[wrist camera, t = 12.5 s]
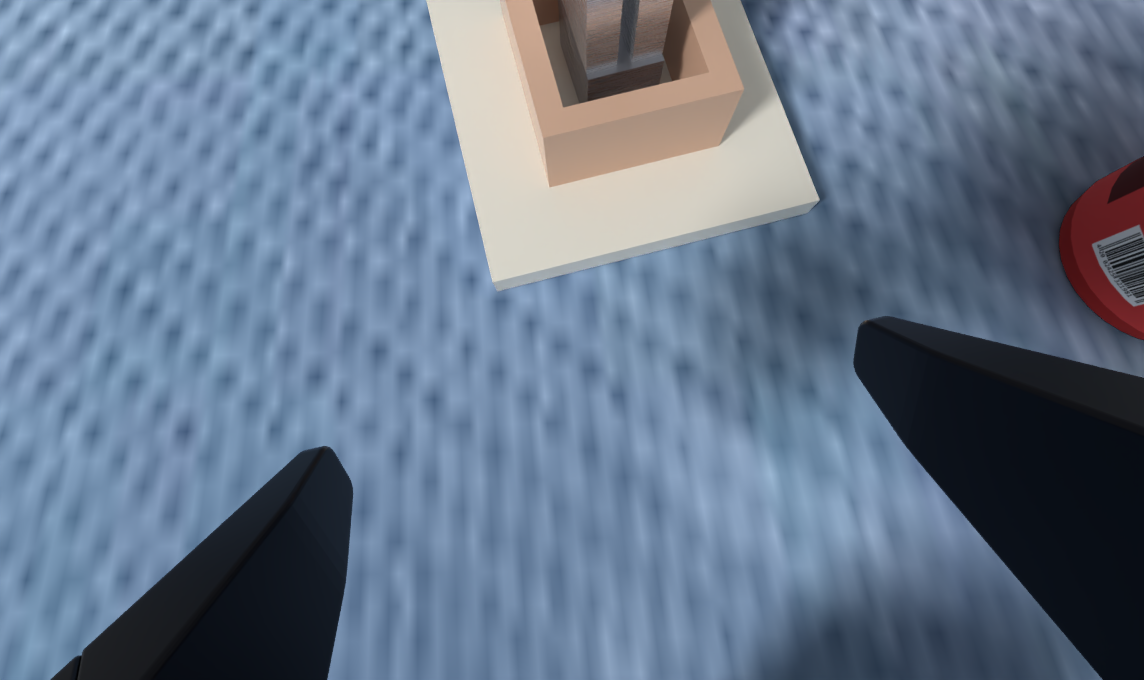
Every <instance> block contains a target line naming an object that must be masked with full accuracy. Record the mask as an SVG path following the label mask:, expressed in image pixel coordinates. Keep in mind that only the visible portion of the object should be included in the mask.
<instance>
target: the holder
mask: <svg viewBox="0 0 1144 680" xmlns="http://www.w3.org/2000/svg"><path fill="white" fill-rule="evenodd" d="M426 1H427V5H428V9H429V14H430V18H431V22H432V26H433V31H434V35H435V39H436V43H437V48H438V52H439V56H440V60H441V65H442V69H443V73H444V77H445V82H446V86H447V90H448V94H449V99H450V103H451V107H452V111H453V116H454V120H455V124H456V128H457V133H458V137H459V141H460V145H461V150H462V154H463V158H464V162H465V167H466V171H467V175H468V179H469V184H470V188H471V192H472V196H473V201H474V205H475V209H476V213H477V218H478V222H479V226H480V230H481V235H482V239H483V243H484V247H485V252H486V256H487V260H488V264H489V269H490V273H491V277H492V281H493V284H494V286H495V287H496V289H497V291H501V290H505V289H509V288H513V287H517V286H521V285H525V284H529V283H533V282H537V281H541V280H545V279H549V278H553V277H557V276H561V275H565V274H569V273H572V272H576V271H580V270H584V269H588V268H592V267H596V266H600V265H604V264H608V263H612V262H616V261H620V260H624V259H628V258H632V257H636V256H640V255H644V254H648V253H652V252H656V251H660V250H664V249H668V248H672V247H676V246H680V245H683V244H687V243H691V242H695V241H699V240H703V239H707V238H711V237H715V236H719V235H723V234H727V233H731V232H735V231H739V230H743V229H747V228H751V227H755V226H759V225H763V224H767V223H771V222H775V221H779V220H783V219H787V218H791V217H795V216H798V215H802V214H806V213H808V212H809V211H810V210H811V209H812V208H813V207H814V206H815V205H816V204H817V203H818V201H819V200H820V199H819V197H818V194H817V192H816V189H815V187H814V184H813V182H812V179H811V177H810V174H809V172H808V169H807V167H806V164H805V162H804V159H803V157H802V154H801V152H800V149H799V147H798V144H797V142H796V139H795V137H794V134H793V132H792V129H791V126H790V124H789V121H788V119H787V116H786V114H785V111H784V109H783V106H782V104H781V101H780V99H779V96H778V94H777V91H776V89H775V86H774V84H773V81H772V79H771V76H770V74H769V71H768V69H767V66H766V64H765V61H764V59H763V56H762V53H761V51H760V48H759V46H758V43H757V41H756V38H755V36H754V33H753V31H752V28H751V26H750V23H749V21H748V18H747V16H746V13H745V11H744V8H743V6H742V3H741V1H740V0H673V5H672V10H671V14H670V19H669V24H668V29H667V34H666V39H665V44H664V49H663V54H662V56H663V58H664V64H663V69H662V74H661V79H660V84H659V85H655V86H651V87H646V88H642V89H638V90H634V91H630V92H626V93H622V94H617V95H613V96H609V97H605V98H601V99H597V100H593V101H588V102H584V103H580V104H579V101H578V98H577V95H576V92H575V88H574V85H573V82H572V79H571V76H570V73H569V70H568V66H567V63H566V60H565V57H564V54H563V51H562V48H561V44H560V26H559V8H558V0H426Z"/></svg>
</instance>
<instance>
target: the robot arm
mask: <svg viewBox="0 0 1144 680" xmlns="http://www.w3.org/2000/svg"><path fill="white" fill-rule="evenodd" d="M853 363H854V369H855V372H856V374H857V376H858V377H859V379H860V380H861V382H862V383H863V385H864V386H865V388H866V389H867V391H868V392H869V394H870V395H871V397H872V398H873V400H874V401H875V402H876V404H877V405H878V407H879V408H880V410H881V411H882V413H883V414H884V416H885V417H886V419H887V420H888V422H889V423H890V424H891V426H892V427H893V429H894V430H895V432H896V433H897V435H898V436H899V437H900V439H901V440H902V442H903V443H904V444H905V446H906V447H907V448H908V450H909V451H910V452H911V453H912V455H913V456H914V457H915V458H916V459H917V461H918V462H919V463H920V464H921V465H922V467H923V468H924V469H925V470H926V471H927V472H928V474H929V475H930V476H931V477H932V478H933V480H934V481H935V482H936V483H937V484H938V485H939V487H940V488H941V489H942V490H943V491H944V493H945V494H946V495H947V496H948V497H949V498H950V500H951V501H952V502H953V503H954V504H955V506H956V507H957V508H958V509H959V510H960V511H961V513H962V514H963V515H964V516H965V517H966V519H967V520H968V521H969V522H970V523H971V524H972V526H973V527H974V528H975V529H976V530H977V532H978V533H979V534H980V535H981V536H982V537H983V539H984V540H985V541H986V542H987V543H988V545H989V546H990V547H991V548H992V549H993V550H994V552H995V553H996V554H997V555H998V556H999V558H1000V559H1001V560H1002V561H1003V562H1004V563H1005V565H1006V566H1007V567H1008V568H1009V569H1010V571H1011V572H1012V573H1013V574H1014V575H1015V576H1016V578H1017V579H1018V580H1019V581H1020V582H1021V584H1022V585H1023V586H1024V587H1025V588H1026V589H1027V591H1028V592H1029V593H1030V594H1031V595H1032V597H1033V598H1034V599H1035V600H1036V601H1037V602H1038V604H1039V605H1040V606H1041V607H1042V608H1043V610H1044V611H1045V612H1046V613H1047V614H1048V615H1049V617H1050V618H1051V619H1052V620H1053V621H1054V623H1055V624H1056V625H1057V626H1058V627H1059V628H1060V630H1061V631H1062V632H1063V633H1064V634H1065V636H1066V637H1067V638H1068V639H1069V640H1070V641H1071V643H1072V644H1073V645H1074V646H1075V647H1076V649H1077V650H1078V651H1079V652H1080V653H1081V654H1082V656H1083V657H1084V658H1085V659H1086V660H1087V662H1088V663H1089V664H1090V665H1091V666H1092V667H1093V669H1094V670H1095V671H1096V672H1097V673H1098V675H1099V676H1100V677H1101V678H1102V679H1103V680H1144V378H1142V377H1138V376H1134V375H1130V374H1126V373H1122V372H1117V371H1113V370H1109V369H1105V368H1101V367H1097V366H1093V365H1089V364H1084V363H1080V362H1076V361H1072V360H1068V359H1064V358H1060V357H1055V356H1051V355H1047V354H1043V353H1039V352H1035V351H1031V350H1027V349H1022V348H1018V347H1014V346H1010V345H1006V344H1002V343H998V342H993V341H989V340H985V339H981V338H977V337H973V336H969V335H965V334H960V333H956V332H952V331H948V330H944V329H940V328H936V327H932V326H927V325H923V324H919V323H915V322H911V321H907V320H903V319H898V318H894V317H890V316H883V317H879V318H874V319H870V320H866V321H864V322H862V323H861V324H860V326H859V328H858V333H857V340H856V347H855V353H854V361H853ZM352 502H353V487H352V483H351V480H350V478H349V476H348V475H347V473H346V471H345V469H344V468H343V466H342V464H341V463H340V461H339V459H338V457H337V456H336V454H335V452H334V451H333V450H332V449H331V448H330V447H327V446H322V447H318V448H313V449H309V450H305V451H302V452H300V453H299V454H298V455H297V456H296V457H295V458H294V459H293V460H291V461H290V462H289V463H288V464H287V465H286V466H285V467H284V468H283V469H282V470H280V471H279V472H278V473H277V474H276V475H275V476H274V477H273V478H272V479H271V480H269V481H268V482H267V483H266V484H265V485H264V486H263V487H262V488H261V489H260V490H258V491H257V492H256V493H255V494H254V495H253V496H252V497H251V498H250V499H249V500H247V501H246V502H245V503H244V504H243V505H242V506H241V507H240V508H239V509H238V510H236V511H235V512H234V513H233V514H232V515H231V516H230V517H229V518H228V519H227V520H225V521H224V522H223V523H222V524H221V525H220V526H219V527H218V528H217V529H216V530H214V531H213V532H212V533H211V534H210V535H209V536H208V537H207V538H206V539H205V540H204V541H202V542H201V543H200V544H199V545H198V546H197V547H196V548H195V549H194V550H193V551H191V552H190V553H189V554H188V555H187V556H186V557H185V558H184V559H183V560H182V561H180V562H179V563H178V564H177V565H176V566H175V567H174V568H173V569H172V570H171V571H169V572H168V573H167V574H166V575H165V576H164V577H163V578H162V579H161V580H160V581H158V582H157V583H156V584H155V585H154V586H153V587H152V588H151V589H150V590H149V591H147V592H146V593H145V594H144V595H143V596H142V597H141V598H140V599H139V600H138V601H136V602H135V603H134V604H133V605H132V606H131V607H130V608H129V609H128V610H127V611H125V612H124V613H123V614H122V615H121V616H120V617H119V618H118V619H117V620H116V621H114V622H113V623H112V624H111V625H110V626H109V627H108V628H107V629H106V630H105V631H103V632H102V633H101V634H100V635H99V636H98V637H97V638H96V639H95V640H94V641H92V642H91V643H90V644H89V645H88V646H87V647H86V648H85V649H84V650H83V652H82V656H76V657H75V658H74V659H72V660H71V661H70V662H69V663H68V664H67V665H66V666H65V667H64V668H63V669H62V670H60V671H59V672H58V673H57V674H56V675H55V676H54V677H53V678H52V679H51V680H327V678H328V673H329V668H330V663H331V657H332V652H333V647H334V642H335V637H336V632H337V626H338V621H339V616H340V611H341V606H342V601H343V595H344V589H345V583H346V575H347V566H348V553H349V540H350V528H351V515H352Z"/></svg>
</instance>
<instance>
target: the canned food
mask: <svg viewBox="0 0 1144 680" xmlns="http://www.w3.org/2000/svg"><path fill="white" fill-rule="evenodd" d="M1059 249H1060V255H1061V261H1062V264H1063V267H1064V269H1065V272H1066V275H1067V277H1068V279H1069V281H1070V282H1071V284H1072V286H1073V287H1074V289H1075V291H1076V293H1077V294H1078V295H1079V296H1080V297H1081V298H1082V300H1083V301H1084V302H1085V303H1086V304H1087V306H1088V307H1089V308H1090V309H1091V310H1093V311H1094V312H1095V313H1096V314H1097V315H1098V316H1099V317H1101V318H1102V319H1103V320H1104V321H1106V322H1107V323H1109V324H1111V325H1112V326H1114V327H1115V328H1117V329H1118V330H1120V331H1122V332H1124V333H1127V334H1129V335H1131V336H1133V337H1136V338H1138V339H1141V340H1144V156H1143V157H1141V158H1139V159H1137V160H1135V161H1134V162H1132V163H1130V164H1128V165H1126V166H1124V167H1122V168H1120V169H1118V170H1117V171H1115V172H1113V173H1111V174H1109V175H1107V176H1105V177H1104V178H1102V179H1100V180H1098V181H1096V182H1095V183H1094V184H1093V185H1092V186H1091V187H1090V188H1089V189H1088V190H1087V191H1086V192H1085V193H1084V194H1082V195H1081V196H1080V197H1079V198H1078V199H1077V200H1076V201H1075V202H1074V203H1073V204H1072V205H1071V207H1070V208H1069V210H1068V212H1067V213H1066V215H1065V216H1064V219H1063V222H1062V225H1061V229H1060V237H1059Z"/></svg>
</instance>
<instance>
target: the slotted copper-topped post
mask: <svg viewBox="0 0 1144 680" xmlns="http://www.w3.org/2000/svg"><path fill="white" fill-rule="evenodd" d="M672 5H673V0H558V8H559V26H560V44H561V48H562V51H563V54H564V57H565V60H566V63H567V66H568V70H569V73H570V76H571V79H572V82H573V85H574V88H575V92H576V95H577V98H578V101H579V104H580V103H584V102H588V101H593V100H597V99H601V98H605V97H609V96H613V95H617V94H622V93H626V92H630V91H634V90H638V89H642V88H646V87H651V86H655V85H659V84H660V79H661V74H662V69H663V64H664V58H663V56H662V54H663V49H664V44H665V39H666V34H667V29H668V24H669V19H670V14H671V10H672Z"/></svg>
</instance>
